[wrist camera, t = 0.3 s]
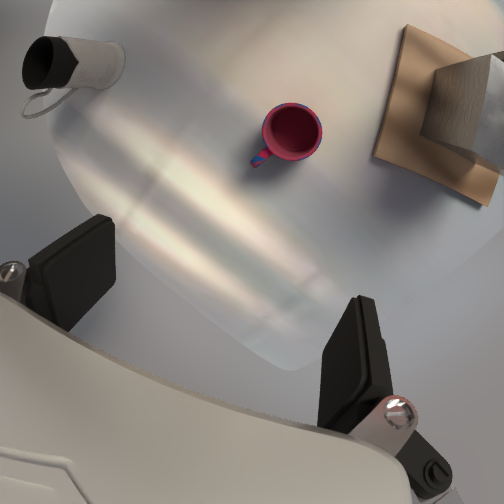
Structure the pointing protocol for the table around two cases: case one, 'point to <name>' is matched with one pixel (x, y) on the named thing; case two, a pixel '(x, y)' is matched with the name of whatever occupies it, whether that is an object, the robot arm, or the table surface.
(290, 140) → the mug
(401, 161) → the board
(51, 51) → the grey and black pitcher
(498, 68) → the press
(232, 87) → the table surface
